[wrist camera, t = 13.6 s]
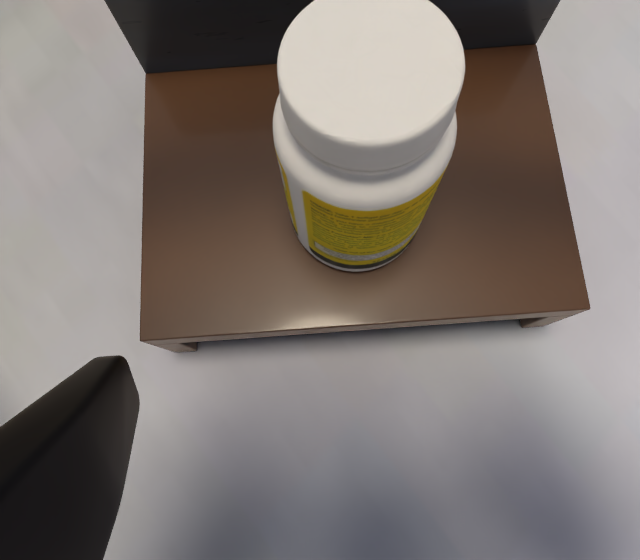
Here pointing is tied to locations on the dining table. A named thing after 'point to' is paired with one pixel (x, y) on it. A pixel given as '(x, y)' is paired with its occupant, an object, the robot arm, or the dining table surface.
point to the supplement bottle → (365, 124)
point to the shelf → (271, 204)
